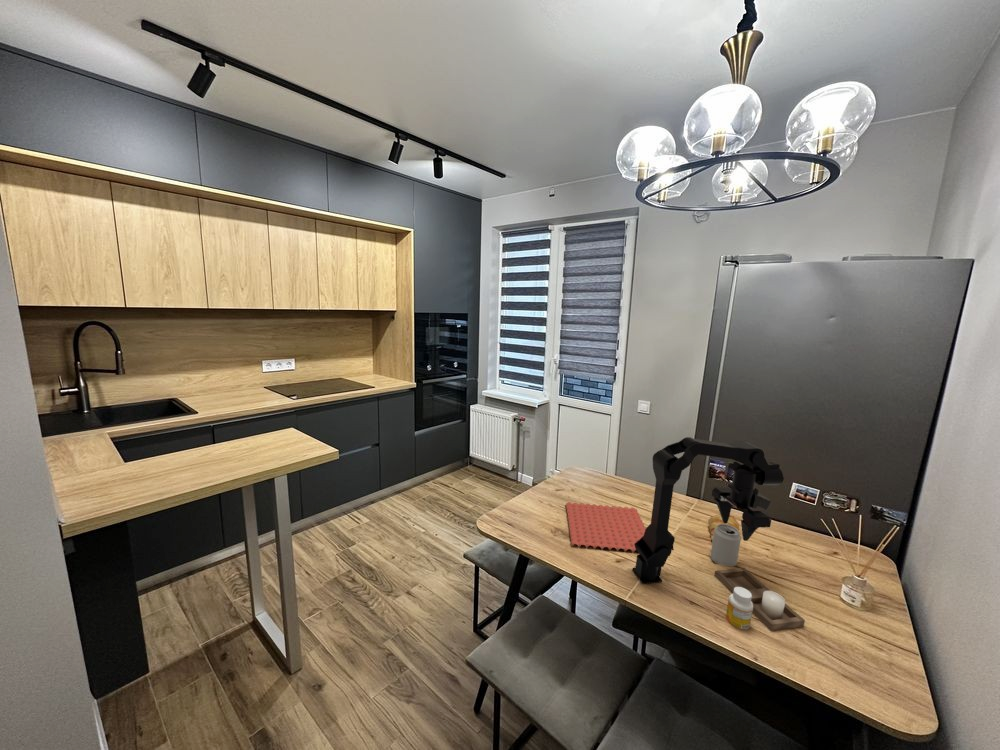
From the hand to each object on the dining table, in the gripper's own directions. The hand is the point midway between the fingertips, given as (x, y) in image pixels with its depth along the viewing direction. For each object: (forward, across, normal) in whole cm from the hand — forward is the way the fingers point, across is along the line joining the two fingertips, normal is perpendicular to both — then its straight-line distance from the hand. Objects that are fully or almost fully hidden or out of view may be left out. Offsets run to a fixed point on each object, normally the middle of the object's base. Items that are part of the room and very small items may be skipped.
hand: (734, 531), depth 117 cm
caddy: (+14, -12, 0) cm, 19 cm away
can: (+14, +5, -2) cm, 15 cm away
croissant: (+14, +21, -12) cm, 28 cm away
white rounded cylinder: (+13, -18, 0) cm, 22 cm away
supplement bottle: (+15, -20, +11) cm, 27 cm away
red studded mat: (+15, +25, +30) cm, 42 cm away
